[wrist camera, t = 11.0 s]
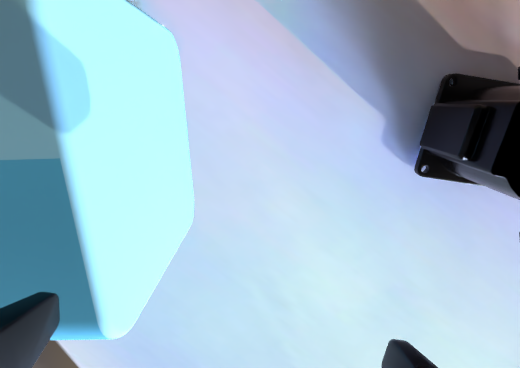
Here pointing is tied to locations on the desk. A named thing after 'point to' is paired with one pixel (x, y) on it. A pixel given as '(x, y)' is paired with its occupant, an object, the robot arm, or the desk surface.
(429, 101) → the desk surface
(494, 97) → the robot arm
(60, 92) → the data package
